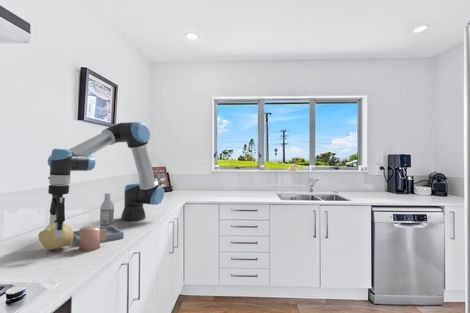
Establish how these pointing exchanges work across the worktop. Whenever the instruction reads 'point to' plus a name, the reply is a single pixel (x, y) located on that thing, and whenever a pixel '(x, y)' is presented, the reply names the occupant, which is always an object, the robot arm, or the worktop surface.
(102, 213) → the bath foam
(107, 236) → the tray
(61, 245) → the sculpture
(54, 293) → the worktop surface
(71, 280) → the worktop surface
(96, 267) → the worktop surface
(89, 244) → the peach tabbed round part
